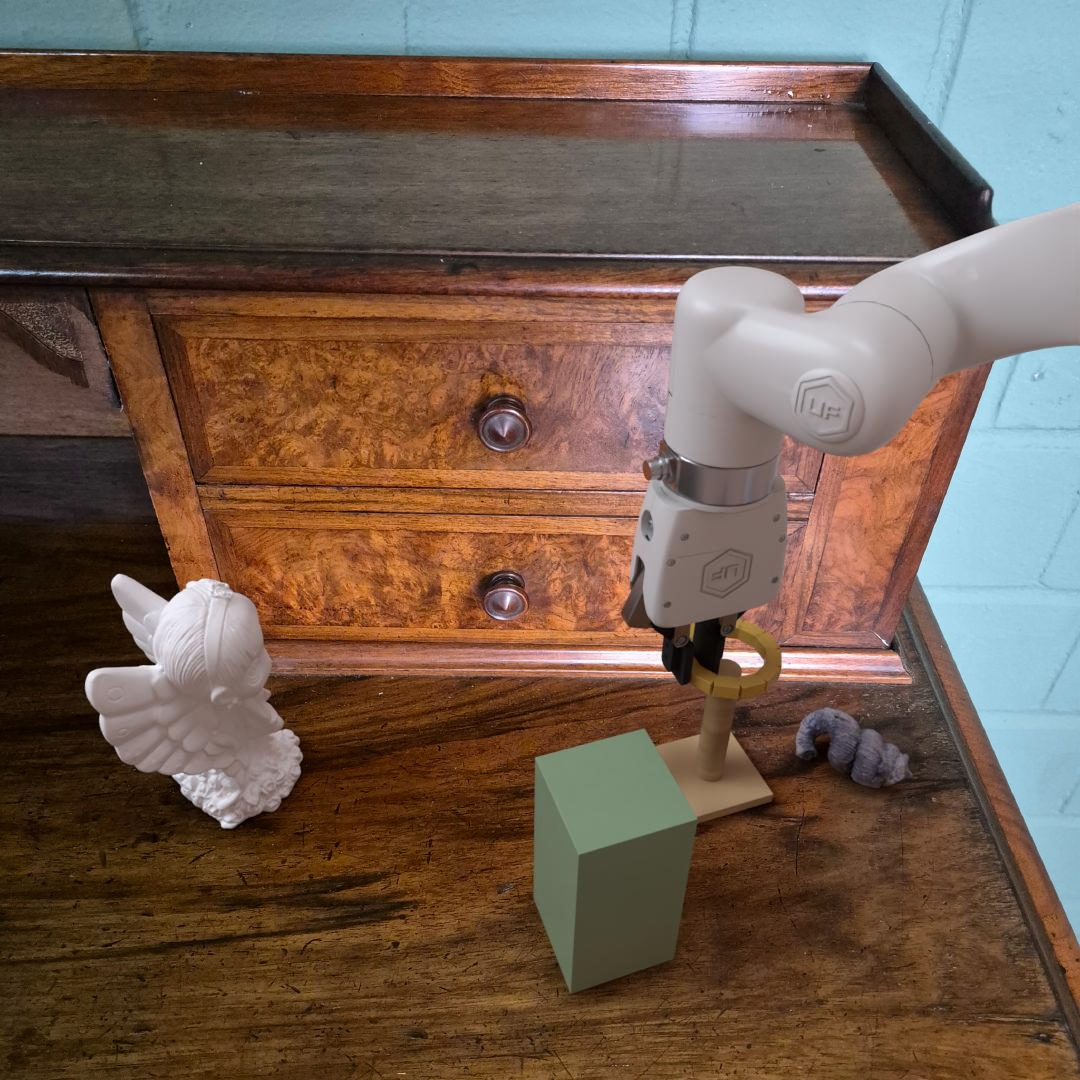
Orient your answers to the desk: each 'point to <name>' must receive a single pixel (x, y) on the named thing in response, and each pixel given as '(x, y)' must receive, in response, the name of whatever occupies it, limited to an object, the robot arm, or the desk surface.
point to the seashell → (853, 748)
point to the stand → (610, 857)
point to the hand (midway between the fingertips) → (690, 668)
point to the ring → (748, 683)
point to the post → (715, 762)
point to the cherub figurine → (198, 700)
